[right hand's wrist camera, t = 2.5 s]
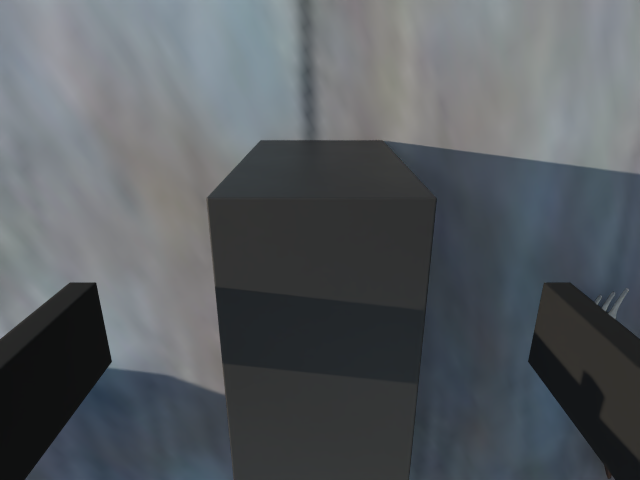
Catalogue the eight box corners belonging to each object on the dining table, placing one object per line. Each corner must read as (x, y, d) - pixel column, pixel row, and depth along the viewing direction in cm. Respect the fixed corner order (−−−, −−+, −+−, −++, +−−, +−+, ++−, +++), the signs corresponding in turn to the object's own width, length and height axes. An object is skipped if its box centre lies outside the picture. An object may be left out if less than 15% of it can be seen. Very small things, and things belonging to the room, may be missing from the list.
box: (260, 140, 23) (205, 197, 12) (383, 140, 23) (437, 198, 12) (277, 501, 32) (255, 712, 22) (364, 502, 32) (385, 713, 21)
